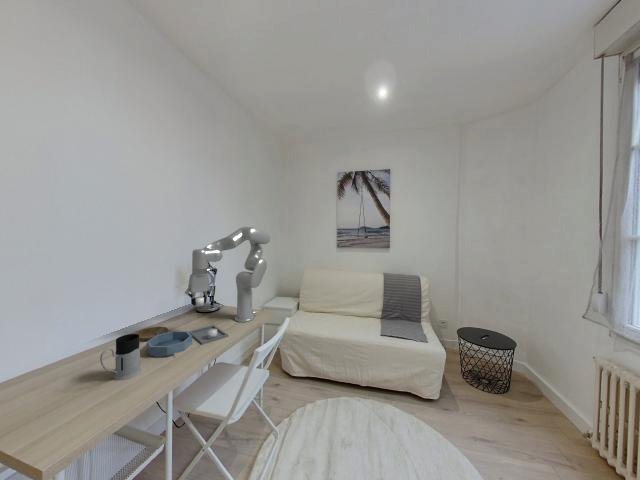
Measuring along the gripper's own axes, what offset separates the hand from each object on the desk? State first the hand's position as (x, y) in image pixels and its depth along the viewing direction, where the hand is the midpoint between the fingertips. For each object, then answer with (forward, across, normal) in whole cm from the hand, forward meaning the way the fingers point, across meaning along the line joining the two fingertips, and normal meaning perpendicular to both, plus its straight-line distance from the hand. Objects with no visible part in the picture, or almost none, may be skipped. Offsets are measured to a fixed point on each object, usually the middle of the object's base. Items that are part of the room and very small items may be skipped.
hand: (198, 303), depth 137 cm
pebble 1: (+1, 0, 0) cm, 1 cm away
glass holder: (+19, +36, +19) cm, 45 cm away
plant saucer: (+19, +18, -17) cm, 31 cm away
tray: (+18, -4, +4) cm, 19 cm away
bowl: (+18, +15, +5) cm, 24 cm away
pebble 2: (+17, -4, +10) cm, 20 cm away
